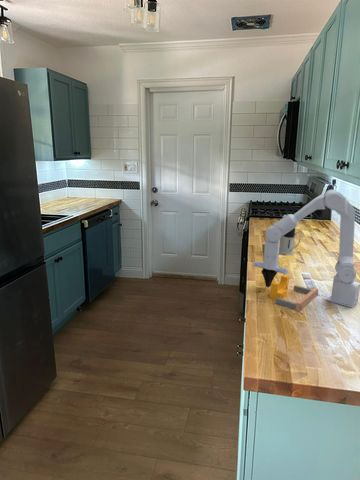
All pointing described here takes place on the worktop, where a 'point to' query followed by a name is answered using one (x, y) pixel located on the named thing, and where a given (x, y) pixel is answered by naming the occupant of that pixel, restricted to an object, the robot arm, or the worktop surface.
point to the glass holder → (288, 242)
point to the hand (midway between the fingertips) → (268, 286)
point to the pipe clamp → (279, 288)
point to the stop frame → (303, 301)
